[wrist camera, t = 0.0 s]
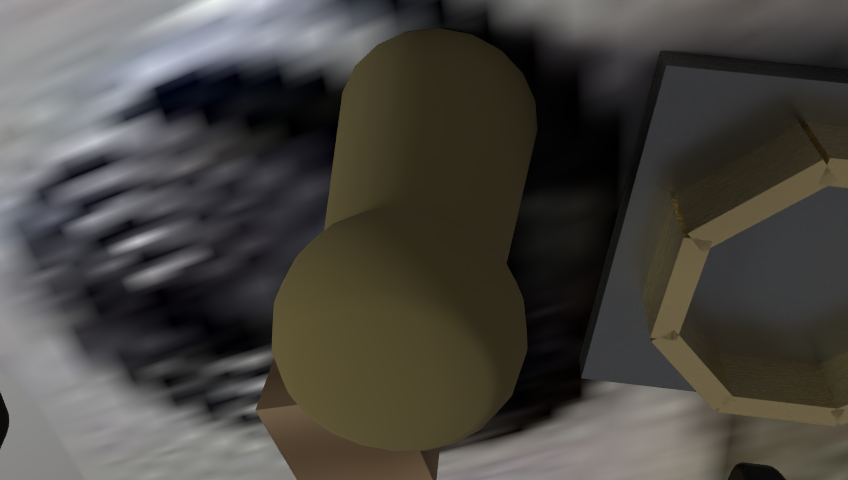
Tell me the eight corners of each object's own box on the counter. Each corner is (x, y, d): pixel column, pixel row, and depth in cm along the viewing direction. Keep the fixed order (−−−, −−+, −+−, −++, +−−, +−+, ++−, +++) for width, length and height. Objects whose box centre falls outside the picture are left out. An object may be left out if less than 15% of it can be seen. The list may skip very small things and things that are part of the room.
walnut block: (444, 402, 30) (435, 486, 27) (329, 416, 32) (308, 499, 28) (408, 310, 28) (394, 392, 24) (284, 330, 29) (255, 410, 26)
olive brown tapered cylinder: (333, 24, 21) (203, 256, 12) (547, 31, 21) (570, 280, 12) (345, 202, 25) (251, 482, 16) (528, 212, 24) (536, 507, 16)
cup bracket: (908, 397, 27) (946, 464, 25) (579, 358, 28) (585, 421, 26) (1105, 95, 20) (1185, 149, 18) (660, 51, 21) (679, 97, 18)
